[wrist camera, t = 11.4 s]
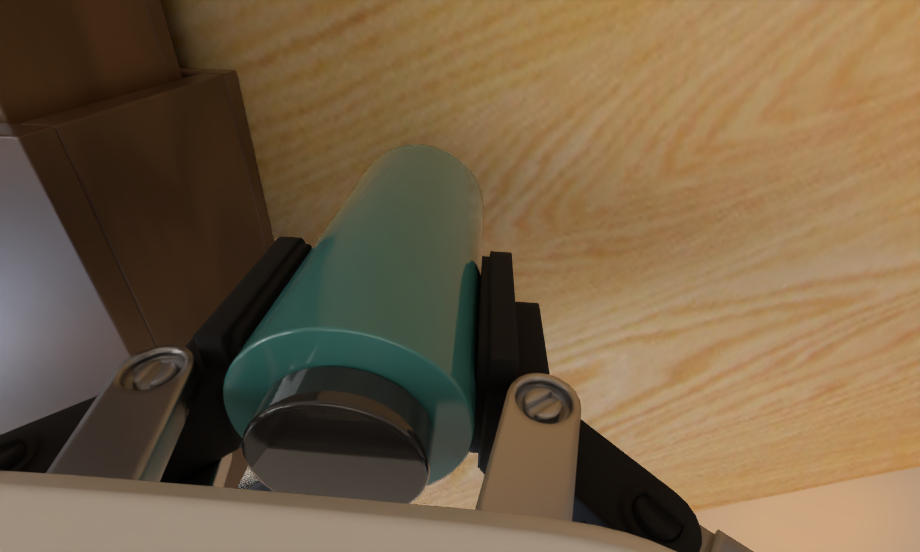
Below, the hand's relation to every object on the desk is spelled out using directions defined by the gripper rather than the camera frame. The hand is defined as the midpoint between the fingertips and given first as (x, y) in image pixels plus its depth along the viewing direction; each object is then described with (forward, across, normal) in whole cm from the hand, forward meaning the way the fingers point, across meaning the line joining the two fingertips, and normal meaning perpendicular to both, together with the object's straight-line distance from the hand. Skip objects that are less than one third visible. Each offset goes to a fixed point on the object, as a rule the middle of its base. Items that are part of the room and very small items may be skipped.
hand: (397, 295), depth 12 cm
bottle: (+5, 0, 0) cm, 5 cm away
